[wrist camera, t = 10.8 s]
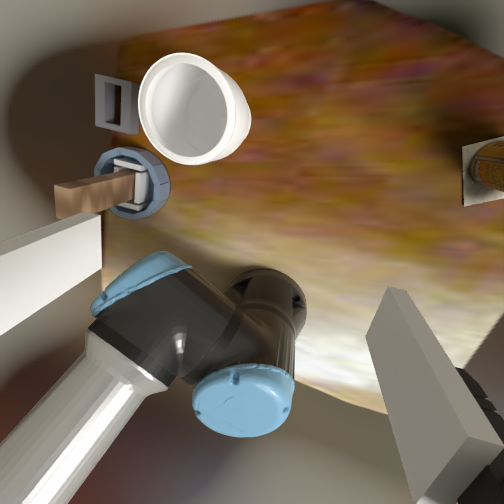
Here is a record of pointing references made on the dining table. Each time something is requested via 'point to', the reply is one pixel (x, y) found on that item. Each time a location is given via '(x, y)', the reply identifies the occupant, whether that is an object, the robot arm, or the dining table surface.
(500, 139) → the condiment
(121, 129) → the grey slotted block
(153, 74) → the jar
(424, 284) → the dining table surface
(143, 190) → the candle dish
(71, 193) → the brown long rectangular bar
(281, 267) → the dining table surface
